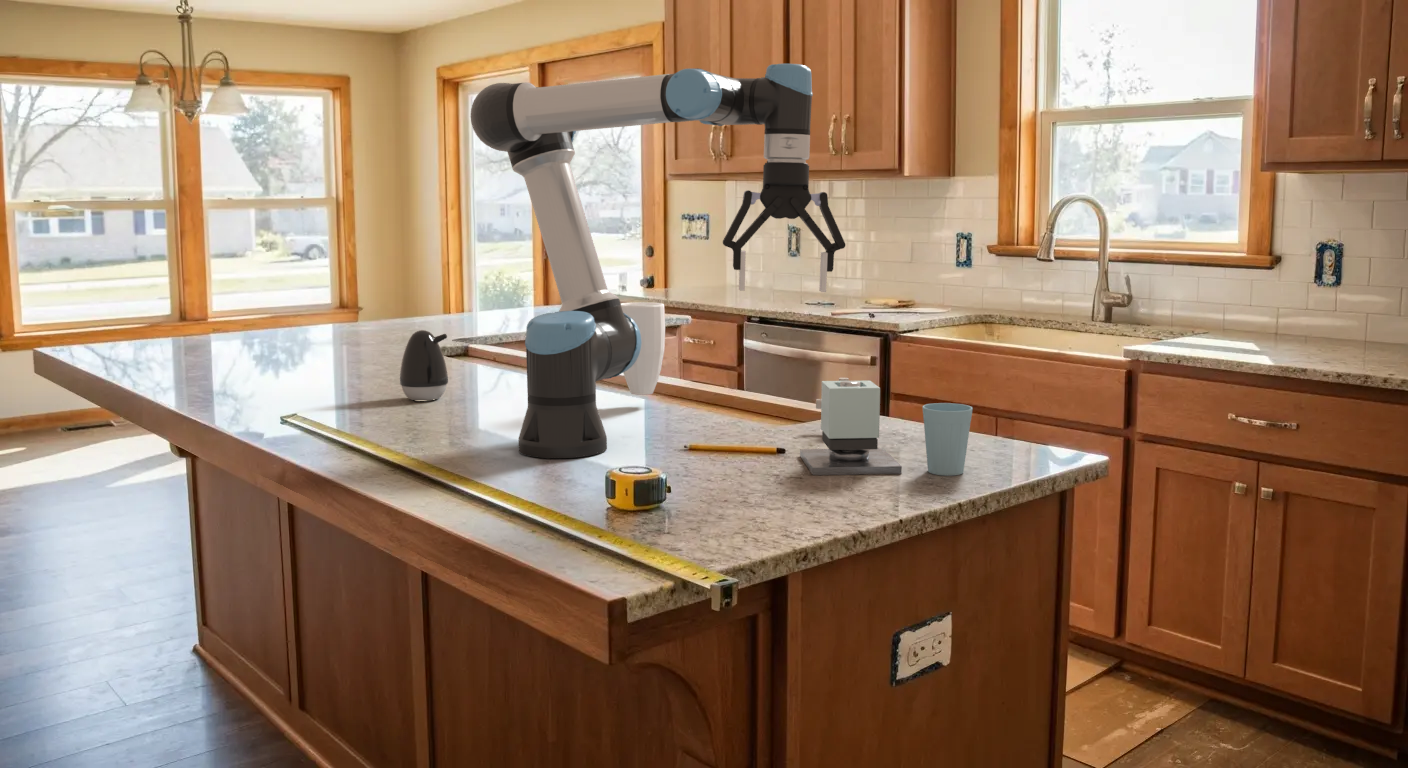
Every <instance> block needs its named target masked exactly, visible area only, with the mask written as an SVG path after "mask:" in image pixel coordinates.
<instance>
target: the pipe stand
mask: <svg viewBox="0 0 1408 768" xmlns="http://www.w3.org/2000/svg"><path fill="white" fill-rule="evenodd" d="M858 381H859V380H849V381H842V382H840V387H860V382H858ZM799 456H800V457H799V458H801V460H802V461H803V463H804V464H805V466H806V467H807V469H808V470H809V472H810V473H811V474H812V476H835V475H836V476H841V475H843V476H847V475H849V476H851V475H900V474H902V471H903V470H902V465H901V463H899V462H898V461H897V460H896V459H895V458H894V457H893V456H892V455H891V454H889V453H888V451H886V450H885V449H884V448H883V447H878V448H877V449H862V450H830V449H829V448H805V449H804V448H802V449H799Z"/></svg>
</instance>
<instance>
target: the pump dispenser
mask: <svg viewBox="0 0 1408 768" xmlns="http://www.w3.org/2000/svg"><path fill="white" fill-rule="evenodd" d="M447 338H448V335H447V333H443V334H440V335H437V336H434V335H433V334H432V332H430V331H428V330H426V329H421V330H420V329H419V330H417V331H415V332H414V333H412V335H411V336H410V337H409V339H408V341H407V344H406V346H405V349H404V352H403V355H402V360H401V366H400V372H399V384H400V386H401V388H402V391H403V393H404V395H405V396H406V397H407V398H408V399H410V400H412V401H413V400H433V399H437V400H439V399H440V398H441V397H443V395H444V394H445V392H446V390H447V384H449V376H448V375H449V374H448V369H447V365H446V359H445V357H444V354H443V352H442V351H443V350H442V349H441V347H440V346H441V345H440V344H439V343H440V342H442V341H444V340H445V339H447Z"/></svg>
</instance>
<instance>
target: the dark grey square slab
mask: <svg viewBox="0 0 1408 768" xmlns="http://www.w3.org/2000/svg"><path fill="white" fill-rule="evenodd" d="M821 431H822V430H821ZM821 433H822V437H821V438H822V439H821V440H822V442H823V443H824V445H825V446H826V447H827V449H830V450H862V449H877V448H879V447H878V439H879V438H836V439H829V438H828V437H827V436H826V434H825V433H824V432H823V431H822V432H821Z"/></svg>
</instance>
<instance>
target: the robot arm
mask: <svg viewBox="0 0 1408 768" xmlns="http://www.w3.org/2000/svg"><path fill="white" fill-rule="evenodd" d="M812 80H813V79H812V70H811V69H810V67H809V66H807V65H805V64H804V65H803V64H799V63H777V64H775V63H773V64H769V65H768V66H767V67H766V71H765V75H764V76H763V77H756V78H753V77H752V78H750V77H749V78H747V77H746V78H745V77H744V78H741V77H740V78H739V77H737V78H736V77H731V76H726V75H722V74H718V73H715V72H711V71H707V70H706V69H703V68H698V67H697V68H683V69H680V70H679V71H677V72H674V73H666V74H655V75H647V76H637V77H627V78H626V77H625V78H616V79H608V80H600V81H599V80H598V81H597V80H596V81H589V82H588V81H587V82H577V83H571V84H570V83H569V84H560V85H549V86H541V87H538V86H537V87H536V86H535V85H534V84H533V83H531V82H518V83H515V82H514V83H509V82H498V83H493V84H491V85H488V86H486V87H485V88H483V89H481V91H479V92H478V94H477V95H476V96H475V98H474V100H473V102H472V105H471V108H470V123H471V126H472V129H473V131H474V133H475V135H476V136H477V138H478V139H479V140H480V141H481V142H482V143H483V144H485V146H487V147H490V148H491V149H493V150H496V151H499V152H507V155H508V159H509V161H510V165H511V168H512V171H513V172H515V173H517V174H519V176H522V177H523V178H524V181H525V185H526V189H527V191H528V195H529V198H530V199H529V200H530V201H531V205H532V207H533V212H534V215H535V218H536V221H537V225H538V228H539V231H540V234H541V239H542V242H543V244H544V248H545V252H546V254H547V258H548V262H549V264H550V267H551V270H552V271H551V272H552V274H553V278H554V280H555V285H556V287H557V290H558V291H557V292H558V295H559V298H560V301H561V306H560V308H559V311H555V312H548V313H547V312H546V313H543V314H539V315H537V316H535V317H532V318H531V319H530V320H529V321H528V322H527V325H526V329H525V330H526V333H525V336H526V337H525V340H524V341H525V342H524V346H525V354H526V356H525V357H526V359H525V360H526V380H527V381H526V383H527V384H526V387H527V392H526V393H527V408H526V411H525V414H524V415H525V416H524V417H523V418H524V419H523V422H522V426H521V428H520V432H519V436H518V440H517V441H518V452H519V453H520V454H521V453H522V455H524V456H527V455H528V457H532V458H533V457H534V458H541V459H573V458H585V457H589V456H595V455H598V454H602V453H604V452H605V451H607V449H608V440H607V439H608V438H607V433H606V431H605V428H604V425H603V422H602V418H601V416H600V412H599V410H598V406H597V400H596V399H597V396H596V395H597V386H596V383H597V382H598V381H602V380H606V379H607V380H608V379H611V378H614V377H617V376H620V375H621V374H624V373H623V372H625V371H627V370H628V369H629V368H631V367H632V366H633V364H634V363H635V362H636V360H637V358H638V356H639V354H640V350H641V334H640V330H639V328H638V326H637V324H636V323H635V321H634V320H633V319H632V318H630V317H629V316H628V315H626V314H625V313H623V310H622V307H621V300H620V298H619V296H618V295H616V294H614V293H612V292H610V291H609V290H608V287H607V284H606V280H605V277H604V273H603V270H602V267H601V264H600V259H599V257H598V254H597V250H596V247H595V243H594V240H593V237H592V234H591V231H590V227H589V224H588V221H587V220H588V219H587V217H586V213H585V211H584V208H583V204H582V201H581V198H580V194H579V191H578V188H577V187H578V186H577V183H576V181H575V178H574V174H573V171H572V169H571V168H572V167H571V162H572V159H573V158H574V156H575V154H576V153H575V148H574V145H573V142H574V139H575V137H574V136H575V134H577V132H580V131H591V130H592V131H593V130H601V129H612V128H621V127H623V128H624V127H632V126H633V127H634V126H636V127H637V126H644V125H645V126H646V125H656V124H667V123H683V122H685V123H686V122H693V121H695V122H696V121H698V122H700V123H701V124H703V125H709V126H710V125H711V126H718V127H722V126H729V125H730V126H733V125H734V126H735V125H736V126H742V125H744V126H745V125H756V126H757V125H758V126H759V125H760V126H761V125H762V126H764V133H763V134H764V137H763V138H764V142H763V158H764V159H765V160H766V162H765V163H764V164H763V168H762V169H763V170H762V171H763V173H762V174H763V175H762V189H761V191H760V192H755V191H751V190H747V189H746V190H745V191H744V192H743V195H742V196H743V197H742V203H741V206H740V208H739V209H738V211H737V213H736V215H735V217H734V218H733V221H732V222H731V224H730V226H729V229H728V230H727V232H726V234H725V236H724V237H723V240H722V245H723V246H725V247H726V248H730V249H732V253H733V254H732V257H733V258H732V268H733V270H734V271H735V270H736V271H739V273H738V278H739V279H738V290H739V291H743V292H744V291H745V287H746V257H747V253H746V250H742V248H743V247H744V246H745V245H746V244H747V243H748V241H750V239H751V238H753V236H754V235H755V234H756V233H757V231H758V230H759V229H760V228H761V227H762V226H763V225H764V224H765V222H767V220H769V218H770V217H772V218H773V219H777V220H778V219H779V220H780V219H785V218H786V219H790V220H796V219H798V218H800V220H801V221H802V222H803V223H804V224H805V226H806V227H807V228H808V230H809V231H810V232H811V233H812V234H813V236H814V237H815V238H816V239H817V241H818V242H819V243H820V244H821V245H822V247H823V249H824V250H825V251H821V252H820V266H819V292H821V293H827V281H828V279H827V277H828V272H829V273H830V272H831V273H832V272H833V270H834V261H835V260H834V259H835V253H836V251H839V250H842V249H845V248H846V241H845V240H844V238H843V236H842V234H841V233H842V232H841V231H840V229H839V226H838V224H837V221H836V220H835V218H834V216H833V213H832V211H831V208H830V206H829V200H828V199H829V197H828V193H827V192H824V191H821V192H819V193H810V188H809V184H810V183H809V180H810V165H809V164H808V163H807V162H806V161H807V160H809V159H810V152H811V151H810V149H811V147H810V145H811V121H812V120H811V119H812V101H813V96H814V95H813V94H814V93H813V89H812V88H813V86H812V85H813V84H812V82H813V81H812ZM757 200H760V202H761V204H762V205H763V206H764V209H763V210H762V211H761V212H760V214H759V215H758V216H757V217H756V218H755V219H754V221H753V222H752V223H751V224H750V225H748V226H749V227H748V228H747V229H746V230H745V231H744V232H743V233H742V234H741V235H740V237H738V239H737V240H736V241H734V238H735V237H736V234H737V233H738V230H739V229H740V227H741V225H742V223H743V221H744V219H745V218H746V216H747V213H748V211H749V209H750V207H751V205H754V204H756V202H757ZM811 202H813V203H814V205H815V206H817V207H819V210H820V212H821V214H822V217H823V219H824V221H825V224H826V226H827V228H828V230H829V233H830V236H831V237H832V239H833V243H832V242H831V241H830V239H829V238H828V237H827V236H826V235H825V234H824V232H823V230H821V227H819V226H818V225H817V223H816V222H815V220H814V219H813V218H812V216H811V215H810V214H809V213H808V211H807V210H806V208H807V207H808V205H809V204H810V203H811Z"/></svg>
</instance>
